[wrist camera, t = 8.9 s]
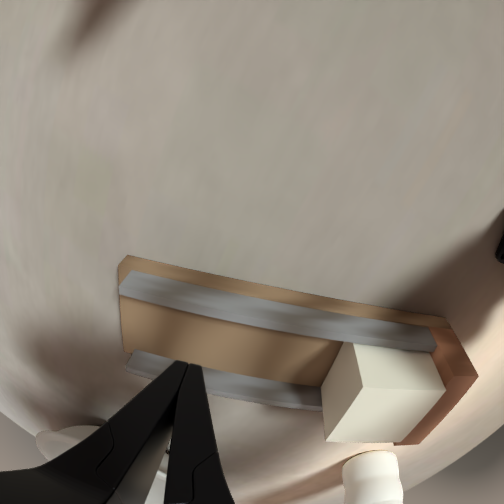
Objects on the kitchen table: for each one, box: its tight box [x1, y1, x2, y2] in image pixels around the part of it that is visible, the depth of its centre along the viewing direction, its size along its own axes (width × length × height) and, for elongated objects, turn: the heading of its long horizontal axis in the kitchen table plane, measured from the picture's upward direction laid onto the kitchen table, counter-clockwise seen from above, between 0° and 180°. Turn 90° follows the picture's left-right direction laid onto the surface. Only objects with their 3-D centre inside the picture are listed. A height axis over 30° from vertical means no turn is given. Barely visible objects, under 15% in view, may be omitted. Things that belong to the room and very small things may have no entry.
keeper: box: [321, 342, 446, 443], centre depth 19 cm, size 6×6×5 cm
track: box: [118, 255, 479, 446], centre depth 20 cm, size 24×8×6 cm, turn 79°
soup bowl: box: [35, 425, 169, 504], centre depth 31 cm, size 24×24×7 cm
